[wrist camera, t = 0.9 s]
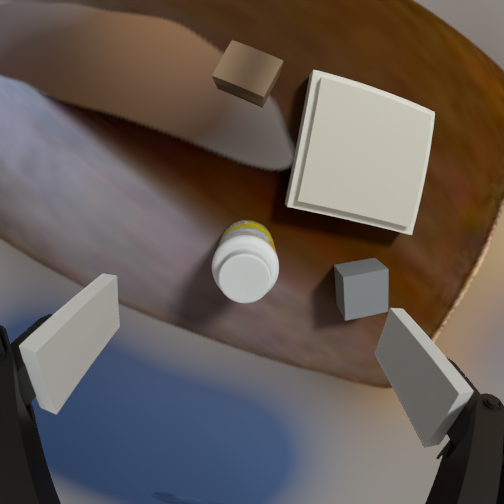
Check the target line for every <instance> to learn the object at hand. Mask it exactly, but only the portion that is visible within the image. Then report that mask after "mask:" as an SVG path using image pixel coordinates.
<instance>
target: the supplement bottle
mask: <svg viewBox="0 0 504 504" xmlns="http://www.w3.org/2000/svg"><path fill="white" fill-rule="evenodd" d="M278 273H279V262H278V257H277V254H276V250H275V246H274V243H273V239H272V236H271V234H270V233H269V231H268V230H267V229H266V228H265V227H264V226H263V225H261V224H260V223H258V222H255V221H251V220H242V221H238V222H236V223H234V224H232V225H231V226H229V227H228V228H227V229H226V231H225V232H224V233H223V235H222V238H221V240H220V242H219V244H218V247H217V249H216V251H215V254H214V257H213V260H212V274H213V278H214V280H215V282H216V284H217V286H218V287H219V288H220V289H221V290H222V292H223V293H224V294H225V295H226V296H227V297H228V298H229V299H231V300H233V301H235V302H239V303H251V302H254V301H257V300H259V299H260V298H262V297H263V296H264V295H265V294H266V293H267V292H268V291H269V290H270V289H271V288H272V287H273V285H274V284H275V282H276V280H277V277H278Z"/></svg>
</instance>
